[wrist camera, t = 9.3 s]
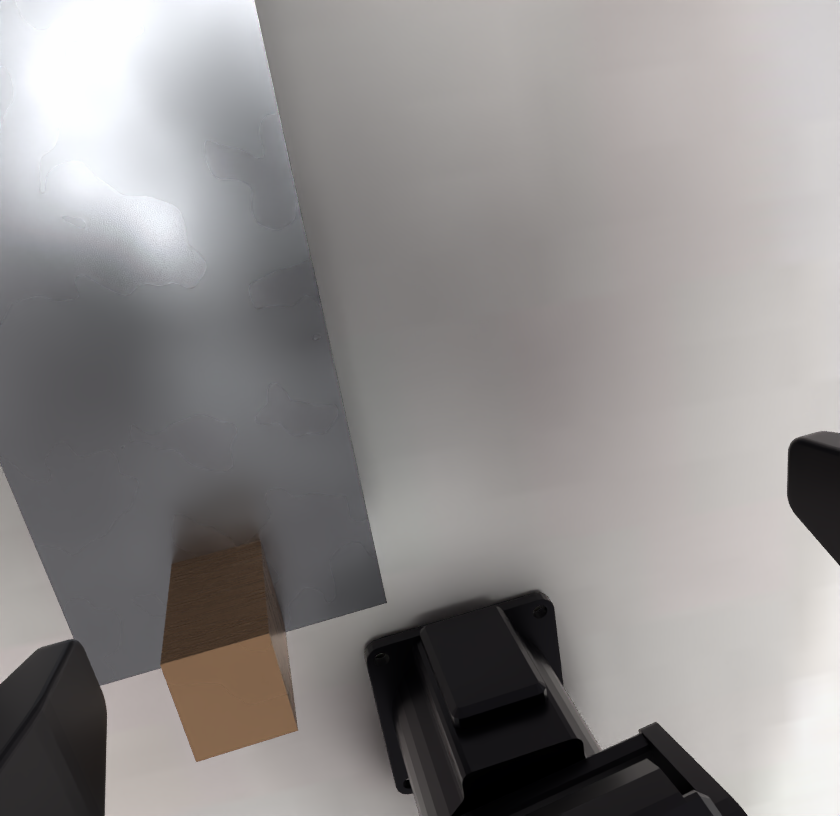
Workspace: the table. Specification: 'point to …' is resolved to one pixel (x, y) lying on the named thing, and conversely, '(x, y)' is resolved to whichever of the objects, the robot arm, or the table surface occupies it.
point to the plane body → (170, 357)
